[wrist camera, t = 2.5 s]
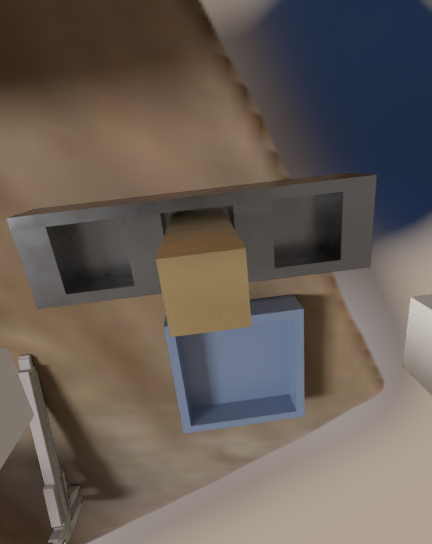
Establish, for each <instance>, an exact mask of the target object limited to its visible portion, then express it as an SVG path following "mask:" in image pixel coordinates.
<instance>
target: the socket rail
mask: <svg viewBox="0 0 432 544" xmlns="http://www.w3.org/2000/svg"><path fill="white" fill-rule="evenodd" d="M376 179H377V175H372V174H362V173H342V174H333V175H324V176H315V177H306V178H299V179H289V180H281V181H272V182H264V183H255V184H246V185H238V186H229V187H221V188H212V189H203V190H195V191H186V192H178V193H169V194H161V195H152V196H143V197H135V198H126V199H118V200H109V201H100V202H92V203H83V204H75V205H66V206H57V207H49V208H40V209H33V210H30V211H27V212H24V213H21V214H18V215H15V216H11V217H8V218H6V219H7V222H8V225H9V228H10V231H11V234H12V236H13V239H14V242H15V245H16V248H17V251H18V254H19V257H20V260H21V263H22V265H23V268H24V271H25V274H26V277H27V280H28V283H29V286H30V289H31V291H32V294H33V297H34V300H35V303H36V306H37V309H42V308H50V307H58V306H66V305H74V304H82V303H90V302H98V301H106V300H114V299H121V298H129V297H137V296H145V295H153V294H161V293H162V290H161V285H160V279H159V274H158V268H157V263H156V257H157V255H158V252H159V249H160V246H161V244H162V241H163V238H164V235H165V233H166V230H167V227H168V224H169V221H170V219H171V216H172V214H174V213H183V212H191V211H200V210H208V209H216V208H222V209H223V211H224V213H225V214H226V216H227V218H228V219H229V221H230V223H231V224H232V226H233V228H234V229H235V231H236V233H237V234H238V236H239V238H240V239H241V241H242V243H243V244H244V246H245V248H246V258H247V271H248V282H256V281H264V280H272V279H280V278H288V277H296V276H304V275H311V274H319V273H327V272H335V271H343V270H351V269H359V268H366V267H370V261H371V247H372V234H373V221H374V207H375V193H376Z"/></svg>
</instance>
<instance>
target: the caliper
mask: <svg viewBox="0 0 432 544" xmlns="http://www.w3.org/2000/svg"><path fill="white" fill-rule="evenodd" d="M18 362H19V366H20V370H21V371H19V372H18V375H19V378H20V380H21V383H22V386H23V388H24V391H25V393H26V396H27V398H28V401H29V403H30V406H31V408H32V411H33V413H34V417H33V418H32V420H31V422H30V427H31V431H32V435H33V439H34V443H35V447H36V452H37V456H38V460H39V464H40V468H41V472H42V476H43V480H44V484H45V486H44V488H43V493H44V497H45V501H46V506H47V510H48V514H49V518H50V523H51V527H52V528H53V527H54V531H53V533H52V534H51V536H50V538H49V540H48V543H49V542H53V543H52V544H67V543H68V541H69V539H70V537H71V534H72V532H73V530H74V528H75V525H76V522H77V519H78V516H79V513H80V510H81V506H82V503H83V496H80V497H77V494H78V491H79V490H80V486H79V485H78V486H71V487H70V488H69V489H68V485H67V479H66V476H65V469H60V467H59V463H58V458H57V454H56V450H55V445H54V441H53V437H52V432H51V428H50V424H49V419H48V415H47V411H46V406H45V402H44V397H43V393H42V388H41V384H40V379H39V377H38V374H37V371H36V369H35V366H33V363H32V359H31V355H22V356H19V360H18Z"/></svg>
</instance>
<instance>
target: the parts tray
mask: <svg viewBox="0 0 432 544" xmlns="http://www.w3.org/2000/svg"><path fill="white" fill-rule="evenodd" d="M250 311H251V325H252V327H245V328H237V329H229V330H222V331H214V332H207V333H199V334H191V335H184V336H176V337H170V334H169V328H168V323H167V317H165V323H164V331H165V336H166V341H167V347H168V352H169V357H170V363H171V368H172V373H173V378H174V384H175V389H176V394H177V400H178V405H179V410H180V415H181V421H182V426H183V431H184V434H185V433H192V432H199V431H206V430H213V429H220V428H227V427H234V426H242V425H249V424H256V423H263V422H270V421H277V420H284V419H291V418H298V417H305V408H304V308H303V307H302V306H301V304H300V303H299V302H298V300H297V299H296V298H295V296H294V295H293V294H292V295H284V296H277V297H269V298H261V299H253V300H250Z"/></svg>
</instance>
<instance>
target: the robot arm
mask: <svg viewBox="0 0 432 544" xmlns="http://www.w3.org/2000/svg"><path fill="white" fill-rule="evenodd" d="M403 367H404V368H405V369H406V370H407V371H408V372H409V373H410V374H411V375H412V376H413V377H414V378H415V379H416V380H417V381H418V382H419V383H420V384H421V385H422V386H423V387H424V388H425V389H426V390H427V391H428V392H429V393H430V394H431V395H432V294H430V295H422V296H414V297H411V300H410V309H409V317H408V326H407V334H406V342H405V350H404V359H403ZM33 417H34V413H33V411H32V408H31V406H30V403H29V401H28V398H27V396H26V393H25V391H24V388H23V386H22V383H21V380H20V378H19V375H18V373H17V370H16V368H15V365H14V363H13V360H12V358H11V355H10V353H9V350H8V348H5V349H0V469H1V468H2V466H3V464H4V463H5V461H6V460H7V458H8V457H9V455H10V453H11V452H12V450H13V449H14V447H15V445H16V444H17V442H18V441H19V439H20V437H21V436H22V434H23V433H24V431H25V430H26V428H27V426H28V425H29V423H30V422H31V420H32V418H33Z"/></svg>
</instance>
